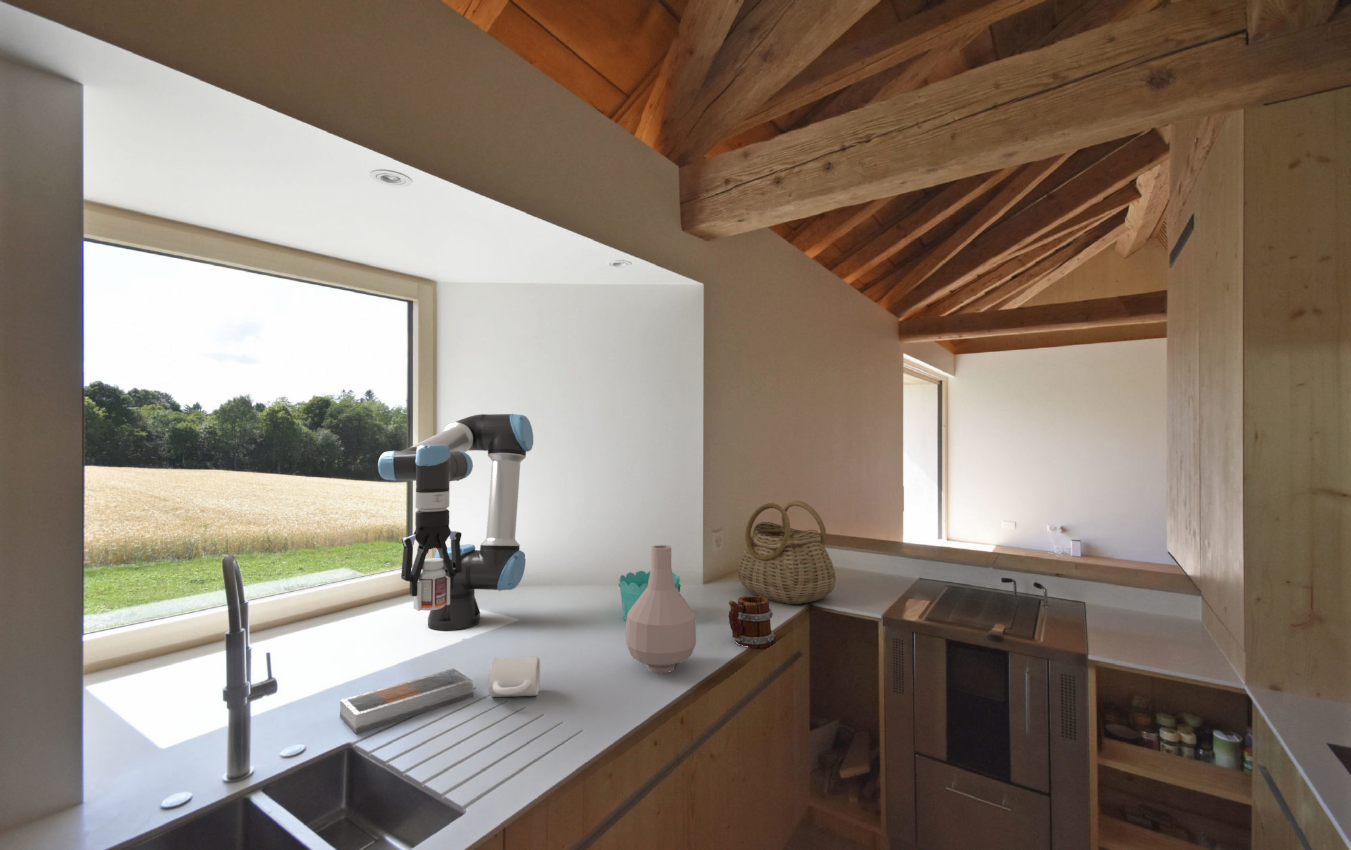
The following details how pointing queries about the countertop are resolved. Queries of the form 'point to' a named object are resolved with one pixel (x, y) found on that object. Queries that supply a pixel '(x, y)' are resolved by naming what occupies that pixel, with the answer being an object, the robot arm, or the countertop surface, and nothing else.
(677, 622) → the vase
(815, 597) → the basket
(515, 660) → the mug
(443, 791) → the countertop surface
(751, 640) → the mug
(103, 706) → the countertop surface
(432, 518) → the robot arm
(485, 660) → the countertop surface
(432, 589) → the pill bottle
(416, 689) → the tray
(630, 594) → the bucket
